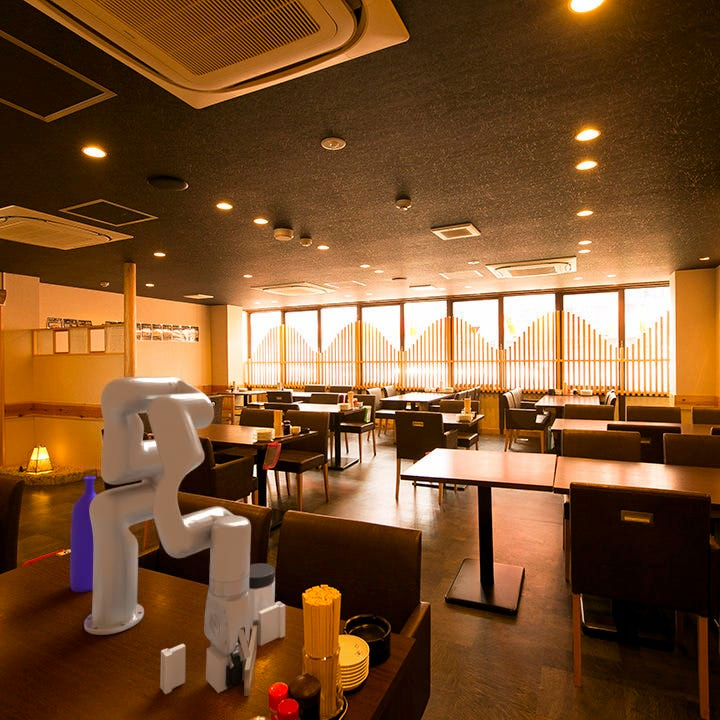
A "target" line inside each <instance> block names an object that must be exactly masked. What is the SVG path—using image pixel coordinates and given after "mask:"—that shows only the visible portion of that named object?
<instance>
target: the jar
mask: <svg viewBox="0 0 720 720" xmlns="http://www.w3.org/2000/svg"><path fill="white" fill-rule="evenodd" d="M275 571H276V570H275V567H274V566H273V565H271V564H268V563H264V562H263V563H262V562H260V563H252V564H251V563H250V573H249V590H248V592H247V593H248V598H249V610H250V630H252V629H253V621H254V620H258V612H259V611H261V610H264V609H266V608H268V607H271V606H273V605H275V603H276V602H275V597H276V593H275V592H276V591H275V590H276V573H275Z"/></svg>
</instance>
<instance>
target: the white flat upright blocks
mask: <svg viewBox="0 0 720 720" xmlns="http://www.w3.org/2000/svg"><path fill="white" fill-rule="evenodd" d="M258 621H259V623H258V646H263V645H265V644H268V643H270V642H272V641H274V640H276V639H282V638H284V637H285V636H286V604H284V603H283V602H281V601H276V602H275V605H273V606H271V607H268V608H266V609H264V610H261V611H259V612H258ZM186 649H187V648H186V645H185V644H184V643H181V644H179V645H176V646H174V647H171V648H168V647H167V648H164V649H161V651H160V686H159V687H160V690H162V692H163V693H164V695H167V694H169V693H171V692H172V691H173V689H175V688H176V687H179V686H181V685H184V684H185V683H186V655H187V654H186V653H187V652H186Z"/></svg>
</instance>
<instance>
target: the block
mask: <svg viewBox="0 0 720 720" xmlns="http://www.w3.org/2000/svg"><path fill="white" fill-rule="evenodd" d="M237 644H238V643H237ZM237 644H236V645H237ZM237 655H238V650H237V651H235V652H233V658H234V657H235V656H237ZM205 661H206V662H205V664H206V665H205V680H206V682H207V683H208V684H209V685H210V686H211V687H212V688H213V689H214V691H216V692H217V694H220V693H221V692H223V691H226V690H227V689H228V688H227V687H226V666H228V655H226V654H224V653H223V652H221V651H220V650H219V649H218V648H217V647H216V646H215V645H213V646H211V645H210V646H209V647H207V648H206V659H205ZM246 661H247V659H245V660H244V662H243V671H242V681H245V666H246Z"/></svg>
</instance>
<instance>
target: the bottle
mask: <svg viewBox="0 0 720 720" xmlns="http://www.w3.org/2000/svg"><path fill="white" fill-rule="evenodd" d="M96 479H97V477H96V476H93V475H92V476H85V477H84V478H83V479H82V480H83V481H85V489H84V493H83V494H82V495H81V496H80V498H79V499H78V500H76V502H75V503H74V505H73V508H72V511H71V525H70V526H71V530H70V560H69V561H70V566H69V567H70V569H69V570H70V571H69V572H70V573H69V575H70V576H69V578H70V589H71V590H72V592H75V593H85V592H86V593H87V592H91V591H93V531H92V525H91V520H90V513H89V508H90V504H91V502H92V500H93V499H94V497H96V496H97V495H98V494H97V493H96V492H95V489H94V488H95V487H94V485H95V483H94V482H95V480H96Z"/></svg>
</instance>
